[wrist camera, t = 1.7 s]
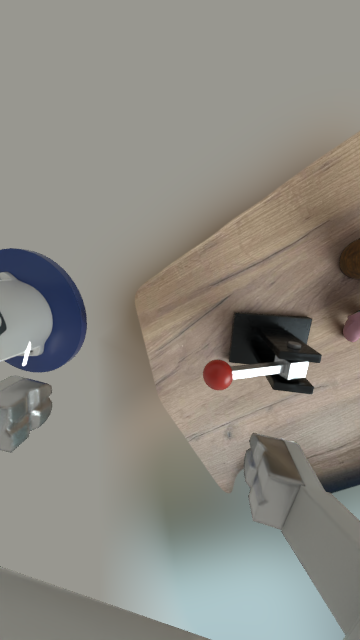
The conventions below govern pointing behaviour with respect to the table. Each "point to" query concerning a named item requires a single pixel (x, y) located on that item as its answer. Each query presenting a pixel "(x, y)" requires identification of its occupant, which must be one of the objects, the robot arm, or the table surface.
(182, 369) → the table surface
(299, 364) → the lever
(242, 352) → the bracket
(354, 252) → the utensil holder
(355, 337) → the pink toy car
